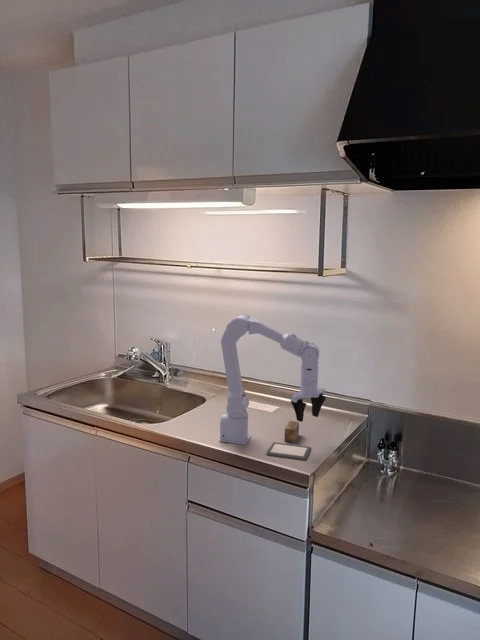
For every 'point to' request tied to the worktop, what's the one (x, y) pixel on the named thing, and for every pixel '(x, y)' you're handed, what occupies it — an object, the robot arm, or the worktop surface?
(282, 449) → the mat
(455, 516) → the worktop surface
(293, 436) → the block
